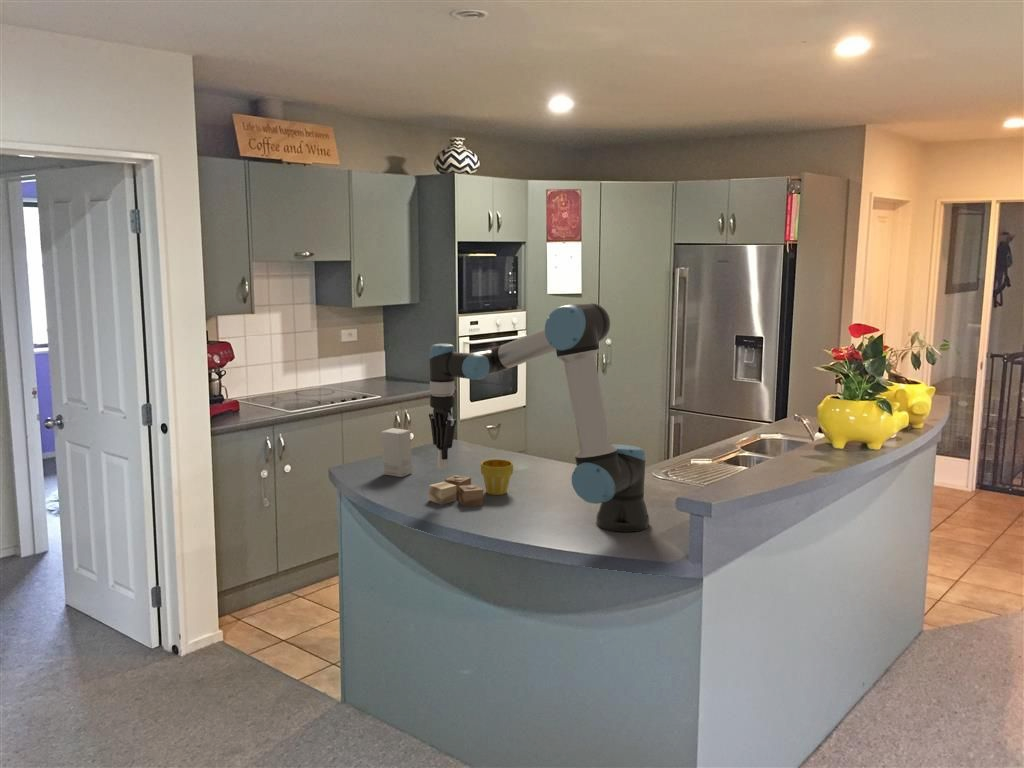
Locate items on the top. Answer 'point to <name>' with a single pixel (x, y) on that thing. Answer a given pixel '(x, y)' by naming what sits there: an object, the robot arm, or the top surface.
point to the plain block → (442, 492)
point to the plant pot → (496, 475)
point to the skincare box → (396, 452)
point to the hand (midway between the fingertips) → (442, 468)
